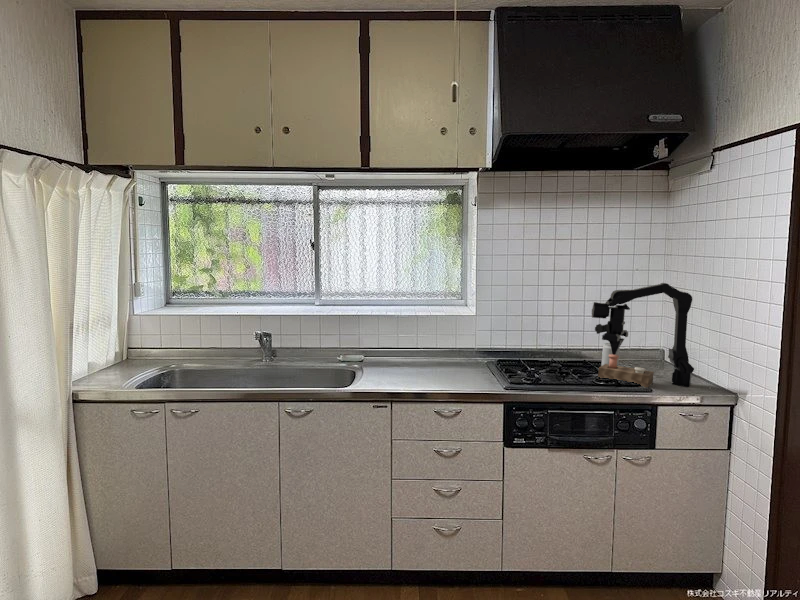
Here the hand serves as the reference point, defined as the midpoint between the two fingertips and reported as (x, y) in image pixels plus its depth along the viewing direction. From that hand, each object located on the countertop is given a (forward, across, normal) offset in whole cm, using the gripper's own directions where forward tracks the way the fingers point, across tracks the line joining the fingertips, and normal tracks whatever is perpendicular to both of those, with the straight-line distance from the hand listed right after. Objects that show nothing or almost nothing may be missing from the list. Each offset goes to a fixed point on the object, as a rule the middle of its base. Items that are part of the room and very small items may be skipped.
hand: (613, 354), depth 226 cm
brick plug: (+6, 0, 0) cm, 6 cm away
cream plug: (+10, 0, +11) cm, 15 cm away
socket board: (+11, 0, +5) cm, 12 cm away
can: (+11, -20, -7) cm, 24 cm away
